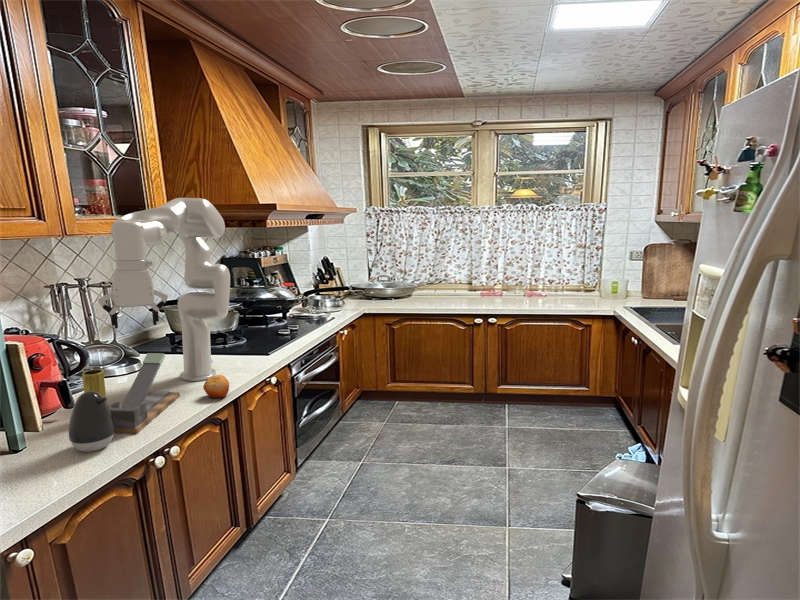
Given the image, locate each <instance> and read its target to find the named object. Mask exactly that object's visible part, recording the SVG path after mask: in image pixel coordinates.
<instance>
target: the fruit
mask: <svg viewBox="0 0 800 600" xmlns="http://www.w3.org/2000/svg"><path fill="white" fill-rule="evenodd" d="M203 390H204V391H205V394H206V395H207V396H208V397H209V398H210V399H219V398H225V397H227V395H228V393H229V390H230V382H229V380H228V379H227V378H226V376H225V375H223V374H216V375H215V376H212V377H210V378H209V379H206V380H205V382H204V384H203Z"/></svg>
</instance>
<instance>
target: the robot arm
mask: <svg viewBox="0 0 800 600" xmlns="http://www.w3.org/2000/svg"><path fill="white" fill-rule="evenodd" d="M225 230H226V225H225V220H224V218H223V217H222V215H221V213H220V212H219V211H218V210H217V208H216V207H215V206H214V205H213V204H212V203H211V202H210V201H209V200H207V199H205V198H200V197H176V198H173V199H172V200H169V201H167V202H165V203H164V204H162V205H160V206H158V207H152V208H148V209H144V210H143V209H142V210H140V211H134V212H131V213H128V214H127V213H126V214H124V215H123V216H121V217H119V218H117V219H116V220H115V221H114V222H113V223H112V225H111V227H110V236H111V238H112V240H113V243H114V244H113V246H114V258H115V269H116V270H114V271H113V273H112V280H111V281H112V284H111V285H112V286H111V287H112V288H111V289H112V291H111V292H108V293H107V294H105V295H102V296H101V297H99V298H97V303H99V305H100V306H101V307H102V309H103V310H104V311H106V312H107V313H109V314H110V318H111V326H114V329H116V330H117V329H118V328H119V326H118V325H119V324H118V321H119V320H118V313H117V311H118V310H119V309H120V308H133V307H147V306H150V308H152V311H151V312H152V313H151V314H152V316H151V318H152V324H153V325H154V326H157V322H159V321H160V320H159V319H160V318H159V311H160V310H161V309H162V307H164V305H165V304H166V302H167V300H168V298H169V296H168V295H167V294H165V293H164V292H161V291H159V290H156V289H154V283H153V279H152V274H151V273H152V272H151V271H150V269H148V268H149V267H152V266H153V261H150V260H147V250H146V247H157V246H160V245H162V244H163V243H164V242H165V241H166V239H167V234H168V233H169V234H170V233H173V232H175V231H176V232H177V234H178V236H179V238H180V240H181V241H182V244H183V247H184V249H185V261H184V262H185V263H184V274H183V275H184V277H183V279H184V284H185V286H186V287H187V288H190V289H193V290H213V292H214V293H213V292H187V293H184V294H182V295H181V296H180V297H179V298H178V300H177V309H178V313H179V317H180V323H181V334H182V336H181V338H182V353H183V354H182V355H183V357H182V359H183V371H182V372H180V373H179V379H181V380H183V381H185V382H186V381H188V382H198V381H199V382H200V381H207V380H208V379H209V378H210V377H212V376H217V371H216V369H214V368H212V364H213V360H212V353H211V352H212V351H211V347H212V346H211V329H210V326H209V324H208V323H207V321H206V320H222V319H225V318H226V317H227V315H228V313H229V309H230V296H231V295H230V294H231V293H230V291H231V273H230V269H229V268H228V267H227V266H226V265H225V264H221V263H211V255H212V254H211V249H210V247H209V245H208V243H207V242H206V241H205V240H204V239H219V238H221V237H223V235H224V234H225V232H226V231H225ZM155 296H157V297H159V298H160V301H159V302H158V303H157V304H156V303H155ZM110 299H112V302H113V306H112V307H111V306H109V305H108V304H107V303H106V301H108V300H110Z"/></svg>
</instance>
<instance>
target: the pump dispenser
mask: <svg viewBox="0 0 800 600" xmlns="http://www.w3.org/2000/svg"><path fill="white" fill-rule="evenodd" d="M106 400H108V398H107V396H106V397H102V396H101V395H100V394H99V393H97V392H95V391H88V392H85V393H84V392H82V393H81V394H80V395H79V396H78V397H77V399H76V401H75V403H74V405H73V408H72V411H71V414H70V420H69V424H68V425H69V426H68V440H69V441H70V442H71V445H72V446H73V447H74V448H75V449H76V450H77V451H80V452H85V453H91V452H96V451H99V450H103V448H106V447H107V446H108V445H109V444H110V443H111V442H112V441H113V440H112V439H113V438H114V435H115V434H114V432H115V424H114V420H113V417H112V414H111V411H110V409H109V407H108V406H109V405H108V402H107V403H106Z"/></svg>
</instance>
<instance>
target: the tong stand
mask: <svg viewBox="0 0 800 600" xmlns="http://www.w3.org/2000/svg"><path fill="white" fill-rule="evenodd" d="M180 395H181V392H179V391H178V392H177V391H172V392H171V390H164V389H162V390H161V389H154V391H148V393H147V395H146V397H145V399H144V401H143V402H142V403H140V404H139V405H138V406H136V407H135V408H121V405H120V403H121V402H120V400H115V401H114V402H112V403H110V404H109V405H108V407H109V409H110V411H111V414H112V417H113V420H114V424H115V432H114V435H115V434H117V435H121V434H123V435H125V434H126V435H137V434H139V433H140V432H141V431H142V430H144V428H146V427H147V426H148V425H149V424H150V423H152V422H153V421H154V420H155V419H156V418H157V417H159V415H161V414H162V413H163V412H164V411H165V410H166V409H167V408H169V407H170V406H171V405H172V404H173V403H175V402H176V401H177V400H178V399H179V398H180V397H181V396H180ZM176 399H177V400H176ZM169 405H170V406H169ZM168 406H169V407H168ZM161 412H162V413H161ZM160 413H161V414H160ZM154 418H155V419H154ZM153 419H154V420H153ZM152 420H153V421H152ZM145 426H146V427H145Z"/></svg>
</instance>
